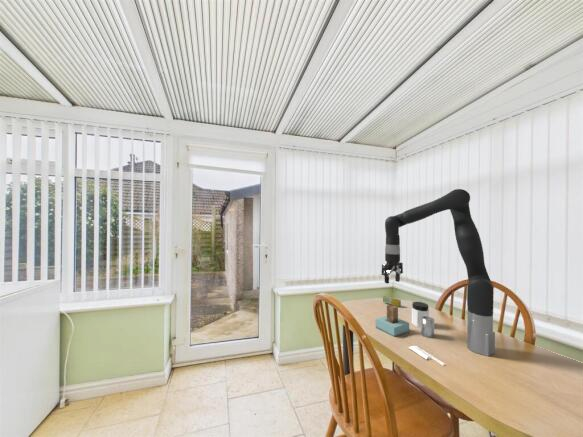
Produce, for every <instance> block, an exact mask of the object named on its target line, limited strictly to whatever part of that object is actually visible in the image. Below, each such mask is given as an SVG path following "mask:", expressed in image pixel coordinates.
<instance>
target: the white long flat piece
mask: <svg viewBox="0 0 583 437" xmlns="http://www.w3.org/2000/svg"><path fill="white" fill-rule="evenodd" d="M408 349H410V350H411V351H413V352H414V353H415V354H417V355H418V356H420V357H422V358H424V359H425V360H431V359H432V360H434V361H436V363H439V364H440V365H441V366H443V367H444V366H447V364H446V363H445V362H443V361H441V360H440V359H439V358H436V357H435V356H433V355H432V354H431V353H429V352H427V351H425V350H424V349H422V348H420V347H418V346H417V345H411V346H409V347H408Z"/></svg>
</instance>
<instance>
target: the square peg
mask: <svg viewBox="0 0 583 437" xmlns="http://www.w3.org/2000/svg"><path fill="white" fill-rule="evenodd" d="M386 316H387V321H388V322H390V323H392V324H394V323H398V318H399V306H396V305H393V304H388V305H386Z"/></svg>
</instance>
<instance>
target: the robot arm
mask: <svg viewBox="0 0 583 437" xmlns="http://www.w3.org/2000/svg"><path fill="white" fill-rule="evenodd" d="M470 201H471V195H470V192H468V191H467V190H465V189H461V188H456V189H453V190H451V191H450V192H448V193H446V194H445V195H443V196H441V197H439V198H437V199H435V200H433V201H429V202H426V203H424V204H420V205H418V206H416V207H413V208H410V209H408V210H405V211H404V212H402V213H399V214H396V215H393V216H392V215H391V216H388V217H387V218H386V219H385V222H384V230H385V248H384V252H385V255H384V258H385V261H386V263H382V264H381V275H382V276H384V283H385V284H387V285H388V284H389V283H390V275H391V274H392V273H395V275H394V276H395V279H394V280H395V281H394V282H398V283H399V282H400V280H401V274H403V273H404V267H403V266H404V263H403V262H401V244H400V243H401V242H400V240H401V237H400V233H399V230H400V229H399V228H402V227H404V226H406V225H408V224H413V223H416V222H419V221H421V220H422V221H423V220H424V219H426V218H429V217H431V216H433V215H435V214H438V213H440V212H444V211H448V210H449V211H450V215H451V216H452V219H453V225H454V226H453V227H454V228H453V229H454V236H455V239H456V245H457V248H458V251H459V254H460V256H461V259H462V261H463V262H464V264H465V268H466V272H467V273H466V274H467V287H466V288H467V289H466V299H467V300H466V304H467V310H466V311H467V314H466V315H467V316H466V318H467V320H466V321H467V323H466V324H467V325H466V326H467V327H466V331H467V332H466V347H467V349H468V350H470V351H471V352H473V353H476V354H479V355H484V356H485V357H490V356H492V355H494V354H496V352H495V351H496V350H495V349H496V348H495V347H496V346H495V344H496V332H495V331H494V292H495V291H494V285H493V282H492V281H491V278H490V276H489V274H488V271H487V268H486V263H485V256H484V255H485V254H484V248H483V244H482V241H481V236H480V234H479V230H478V228H477V226H476V224H475V222H474V220H473V218H472V215H471V211H470V210H471V208H470ZM493 353H494V354H493ZM491 354H492V355H491Z"/></svg>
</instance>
